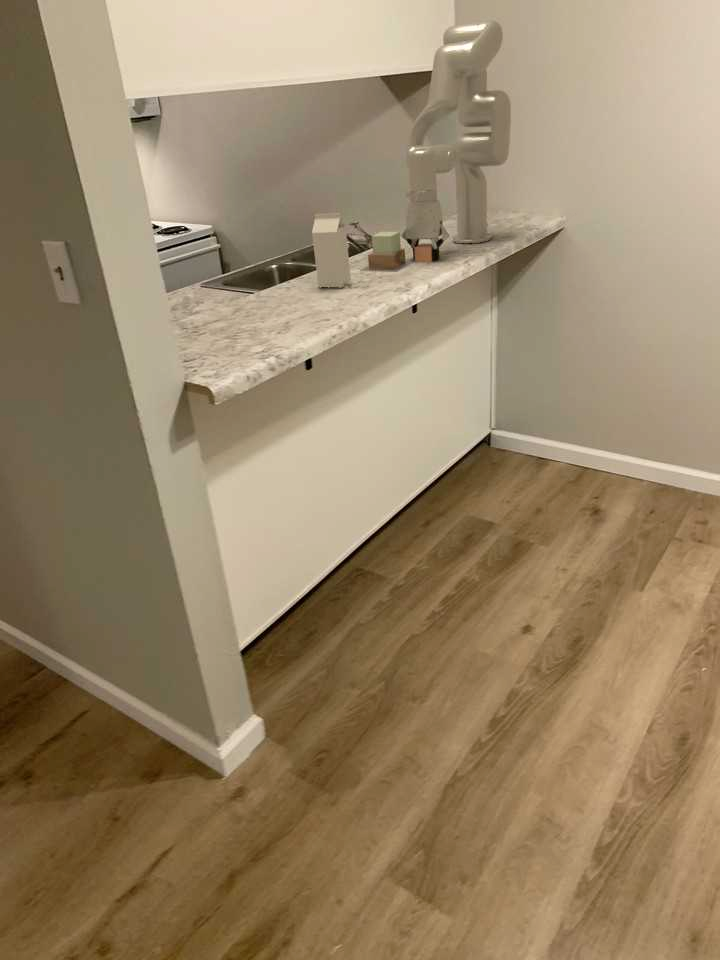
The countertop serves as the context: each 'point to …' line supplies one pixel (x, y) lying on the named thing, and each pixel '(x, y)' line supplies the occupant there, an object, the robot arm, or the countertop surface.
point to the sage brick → (386, 242)
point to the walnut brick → (386, 260)
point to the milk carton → (331, 250)
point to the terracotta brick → (423, 252)
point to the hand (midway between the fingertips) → (426, 260)
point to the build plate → (387, 269)
